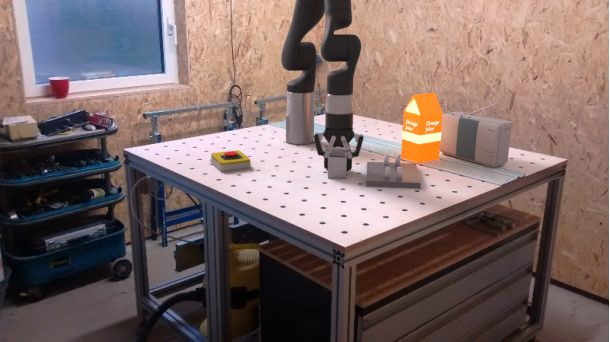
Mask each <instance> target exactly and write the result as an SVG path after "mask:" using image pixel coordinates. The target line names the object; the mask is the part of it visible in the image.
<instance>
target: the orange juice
mask: <svg viewBox="0 0 610 342" xmlns="http://www.w3.org/2000/svg"><path fill="white" fill-rule="evenodd" d="M443 114H444V112H443V110H442V108H441V105H440V102H439V100H438V97H437V95H436V92H428V93H417V94H413V95H412V97H411V98H410V100H409V102H408V103H407V105H406V107H405V108H404V110H403V118H402V119H403V120H402V131H401V154H400V155H401V158H400V159H404V160H406V159H407V161H409V162H411V163H416V164H417V163H418V164H422V163H421V162H423V163H426V162H427V161H428V162H432V161H431V160H434V161H438V160H437V159H439V160H440V153H441V152H440V141H441V128H442V115H443Z"/></svg>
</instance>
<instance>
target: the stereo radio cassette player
mask: <svg viewBox="0 0 610 342" xmlns="http://www.w3.org/2000/svg"><path fill="white" fill-rule="evenodd" d="M510 100H512V98H511V97H509V98H507V99H505V100H502V101H499V102H496V103H493V104H490V105H488V106H485V107H482V108H480V109H477V110H475V111H472V112H470V113H469V112H464V111H453V112H447V113H446V112H445V113H443V115H442V128H441V141H440V153H441V154H443V155H446V156H450V157H453V158H459V159H462V160H465V161H470V162H473V163H476V164H480V165H484V166H488V167H491V168H493V169H495V168H497V167H500V166H502V165H505V164H506V163H507V162H508V160H509V153H510V143H511V138H512V137H511V136H512V135H511V134H512V128H513V126H514V124H513V121H512V120H511V121H510V120H505V119H500V118H496V117H495V118H494V117H489V116H486V115H485V116H484V115H479V114H476V113H479V112H481V111H484V110H486V109H488V108H489V109H490V108H492V107H494V106H497V105H499V104H501V103H504V102H506V101H510Z"/></svg>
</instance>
